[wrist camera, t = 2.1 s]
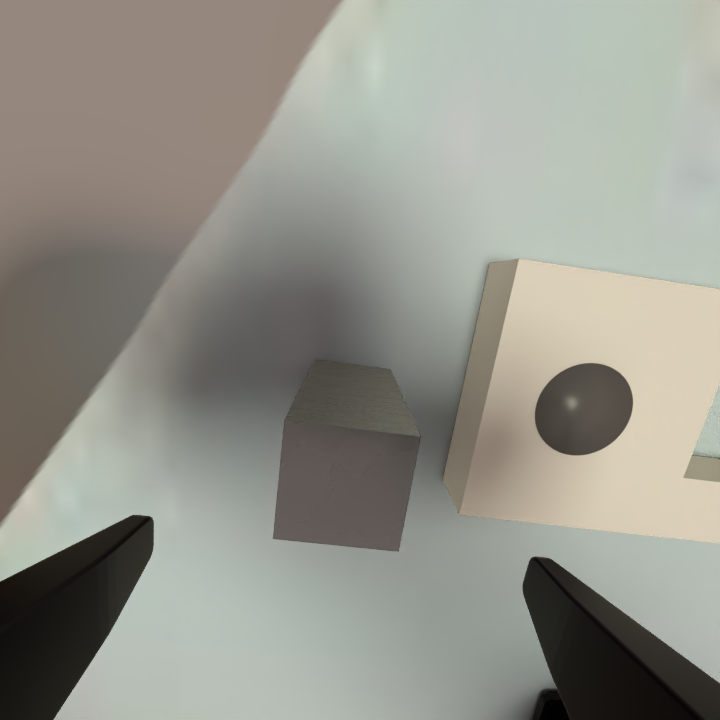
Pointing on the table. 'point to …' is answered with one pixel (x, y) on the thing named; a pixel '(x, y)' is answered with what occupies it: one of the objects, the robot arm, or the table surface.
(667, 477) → the socket plate
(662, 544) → the table surface
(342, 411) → the square peg
